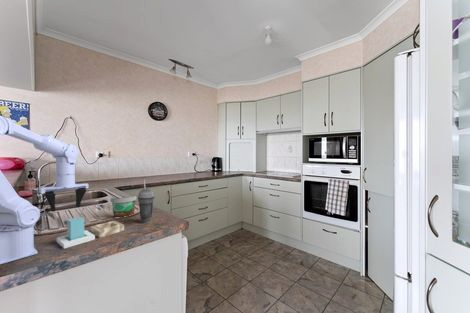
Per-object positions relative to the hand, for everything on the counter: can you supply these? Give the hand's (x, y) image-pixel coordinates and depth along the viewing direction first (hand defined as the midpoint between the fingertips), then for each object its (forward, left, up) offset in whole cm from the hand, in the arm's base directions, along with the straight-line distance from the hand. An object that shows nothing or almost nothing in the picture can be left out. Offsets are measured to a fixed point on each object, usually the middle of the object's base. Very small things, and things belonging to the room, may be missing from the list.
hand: (66, 208), depth 78 cm
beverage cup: (+27, -11, -11) cm, 31 cm away
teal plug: (+1, -10, -10) cm, 14 cm away
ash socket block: (+11, -10, -10) cm, 18 cm away
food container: (+24, +6, -11) cm, 27 cm away
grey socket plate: (+1, -10, -10) cm, 14 cm away
